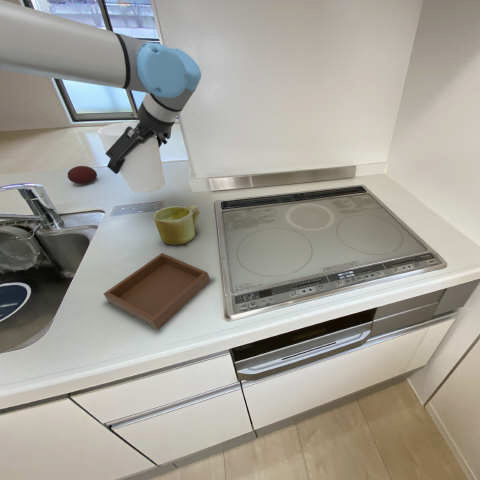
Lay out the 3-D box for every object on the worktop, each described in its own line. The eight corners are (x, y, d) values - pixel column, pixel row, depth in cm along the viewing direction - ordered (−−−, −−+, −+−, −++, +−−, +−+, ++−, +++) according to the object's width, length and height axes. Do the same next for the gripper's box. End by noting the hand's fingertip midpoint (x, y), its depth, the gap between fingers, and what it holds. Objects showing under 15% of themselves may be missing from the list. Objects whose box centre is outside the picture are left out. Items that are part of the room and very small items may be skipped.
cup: (126, 200, 73) (97, 138, 62) (121, 182, 81) (94, 124, 70) (175, 189, 79) (156, 131, 69) (166, 174, 87) (148, 119, 76)
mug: (168, 251, 67) (158, 213, 64) (155, 244, 74) (145, 209, 70) (213, 238, 75) (206, 204, 72) (197, 233, 82) (191, 202, 79)
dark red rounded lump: (69, 182, 95) (60, 167, 92) (95, 175, 100) (87, 160, 97) (76, 189, 92) (66, 173, 88) (102, 181, 97) (94, 166, 93)
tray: (109, 302, 56) (102, 293, 54) (166, 261, 67) (162, 252, 65) (158, 329, 52) (152, 320, 50) (210, 281, 63) (207, 272, 61)
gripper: (132, 138, 56) (106, 189, 67) (201, 112, 75) (172, 156, 86) (100, 108, 53) (79, 166, 65) (180, 90, 72) (153, 137, 84)
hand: (132, 161), depth 76 cm, fingers closed on cup, 13 cm apart
